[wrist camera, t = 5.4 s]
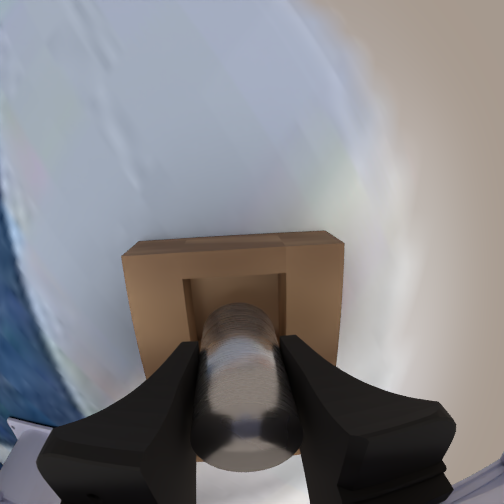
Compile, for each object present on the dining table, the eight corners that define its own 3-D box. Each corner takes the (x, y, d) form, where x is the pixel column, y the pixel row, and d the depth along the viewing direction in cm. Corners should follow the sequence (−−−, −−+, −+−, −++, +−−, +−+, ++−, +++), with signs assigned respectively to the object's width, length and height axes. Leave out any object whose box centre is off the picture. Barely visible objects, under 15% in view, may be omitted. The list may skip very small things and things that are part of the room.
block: (313, 421, 20) (323, 450, 17) (176, 431, 20) (172, 461, 17) (325, 230, 17) (344, 243, 14) (138, 241, 16) (121, 256, 13)
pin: (275, 359, 13) (302, 464, 8) (208, 366, 13) (202, 474, 8) (271, 298, 13) (303, 395, 7) (197, 306, 13) (178, 407, 7)
